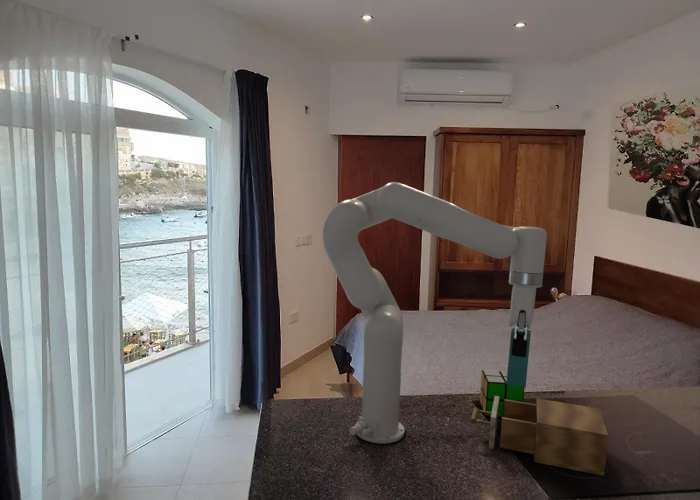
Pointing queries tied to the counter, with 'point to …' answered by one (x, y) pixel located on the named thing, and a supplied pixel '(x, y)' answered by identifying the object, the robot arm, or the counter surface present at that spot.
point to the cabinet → (570, 437)
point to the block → (518, 364)
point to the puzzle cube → (497, 390)
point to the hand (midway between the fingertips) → (518, 352)
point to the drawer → (512, 425)
